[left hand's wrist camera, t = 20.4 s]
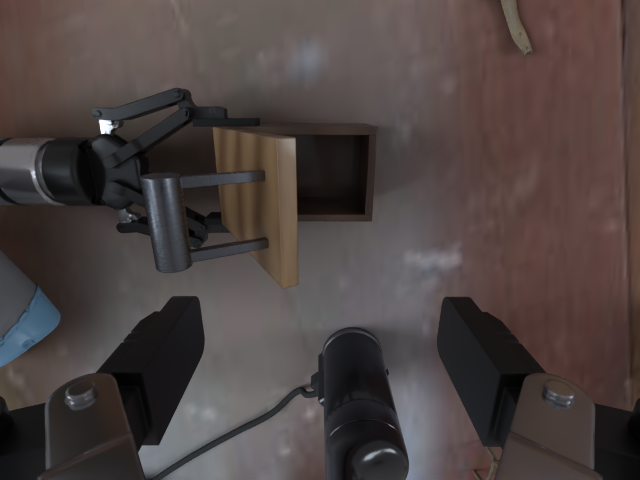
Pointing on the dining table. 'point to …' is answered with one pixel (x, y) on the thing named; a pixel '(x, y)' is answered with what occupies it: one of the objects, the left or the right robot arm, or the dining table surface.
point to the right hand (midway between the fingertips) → (260, 172)
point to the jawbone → (516, 26)
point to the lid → (233, 205)
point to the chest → (331, 169)
